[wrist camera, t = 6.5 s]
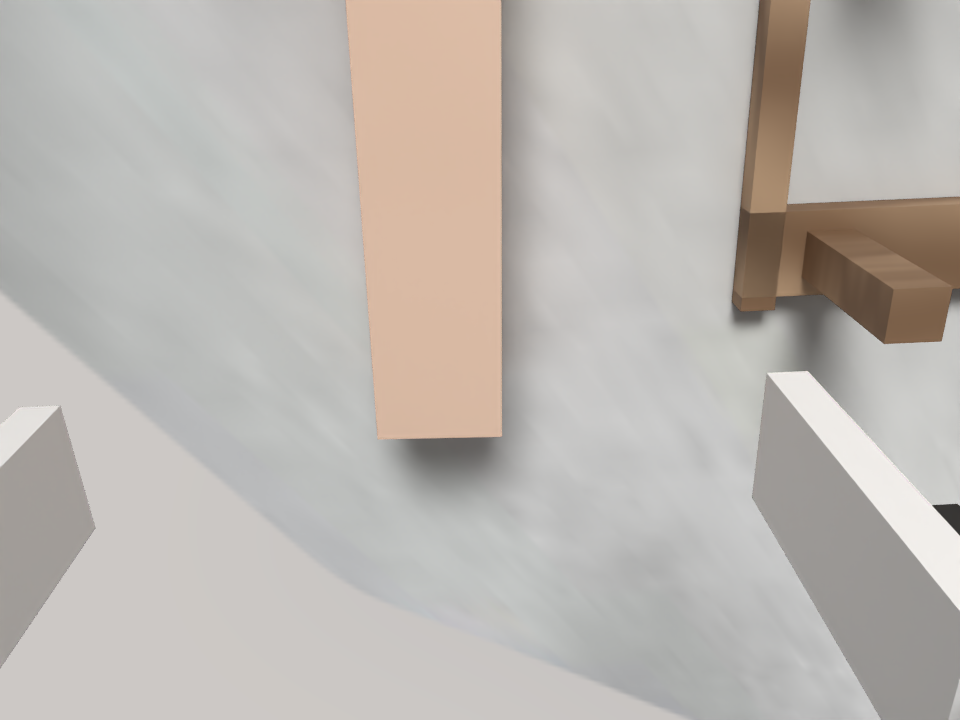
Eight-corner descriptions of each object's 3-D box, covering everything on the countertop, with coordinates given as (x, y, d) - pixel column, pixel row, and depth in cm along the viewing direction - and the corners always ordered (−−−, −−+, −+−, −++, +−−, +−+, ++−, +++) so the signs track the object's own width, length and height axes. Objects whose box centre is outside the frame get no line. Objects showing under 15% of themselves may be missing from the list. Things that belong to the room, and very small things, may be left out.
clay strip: (354, -193, 23) (327, -241, 19) (493, -195, 23) (500, -243, 19) (390, 373, 31) (377, 439, 26) (495, 371, 31) (501, 436, 26)
